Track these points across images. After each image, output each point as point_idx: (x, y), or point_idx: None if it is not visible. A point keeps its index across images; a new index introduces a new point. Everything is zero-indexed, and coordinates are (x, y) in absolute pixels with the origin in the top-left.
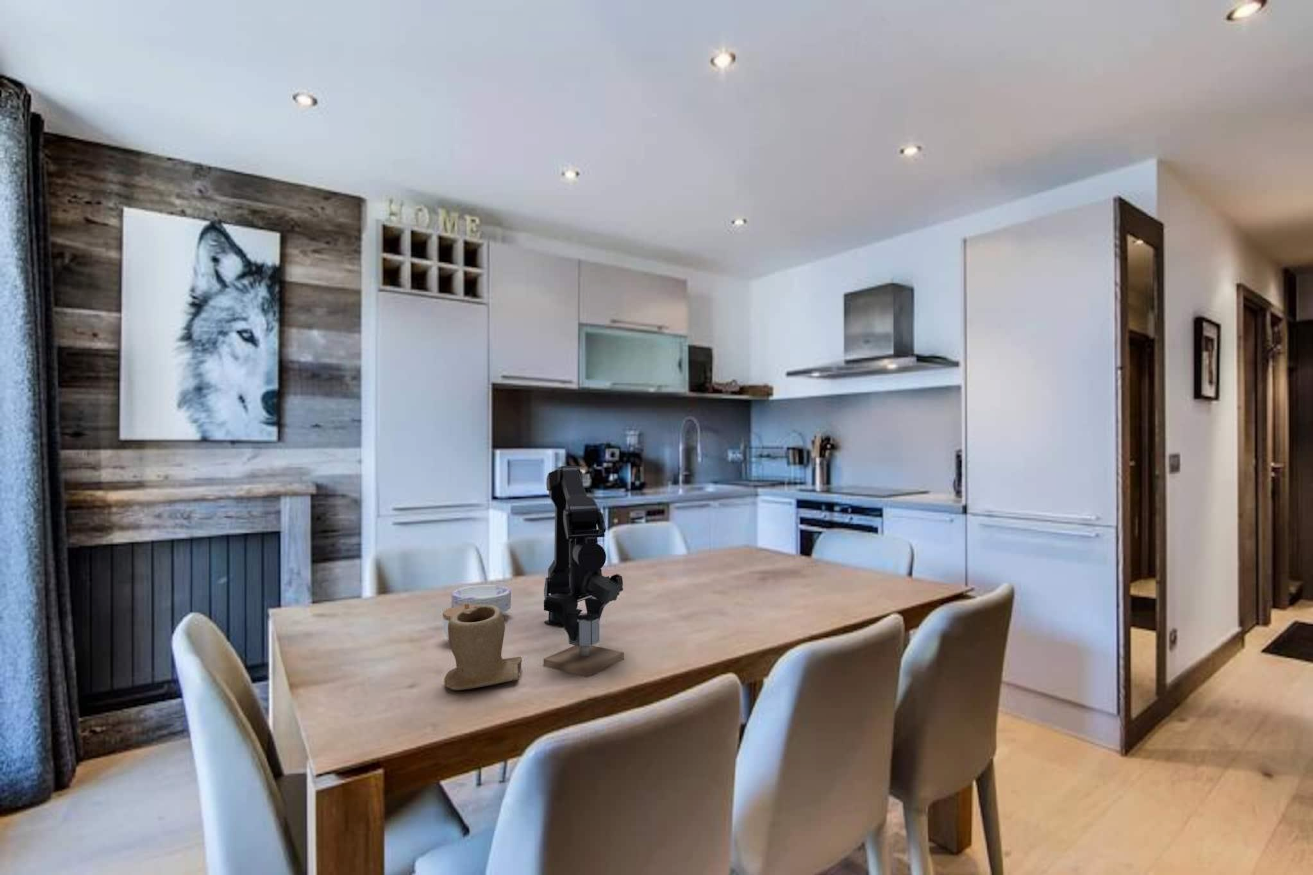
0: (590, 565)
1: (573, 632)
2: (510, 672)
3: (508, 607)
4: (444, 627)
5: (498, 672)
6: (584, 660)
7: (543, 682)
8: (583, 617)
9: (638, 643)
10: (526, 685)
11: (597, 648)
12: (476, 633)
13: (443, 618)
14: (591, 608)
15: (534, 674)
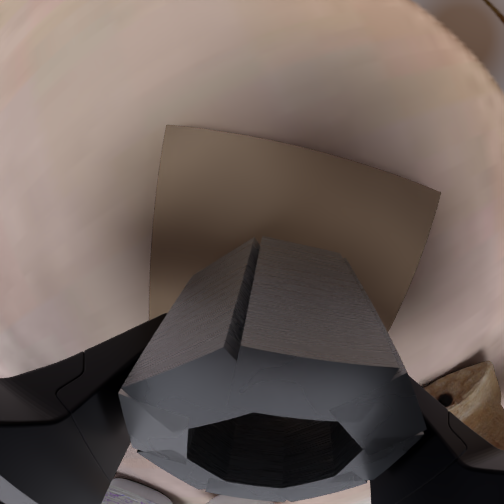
0: None
1: (418, 389)
2: (487, 383)
3: (111, 488)
4: None
5: (492, 397)
6: (346, 257)
7: (468, 309)
8: (206, 451)
9: (32, 174)
10: (480, 334)
11: (170, 270)
12: None
13: None
14: (99, 460)
15: (415, 362)
